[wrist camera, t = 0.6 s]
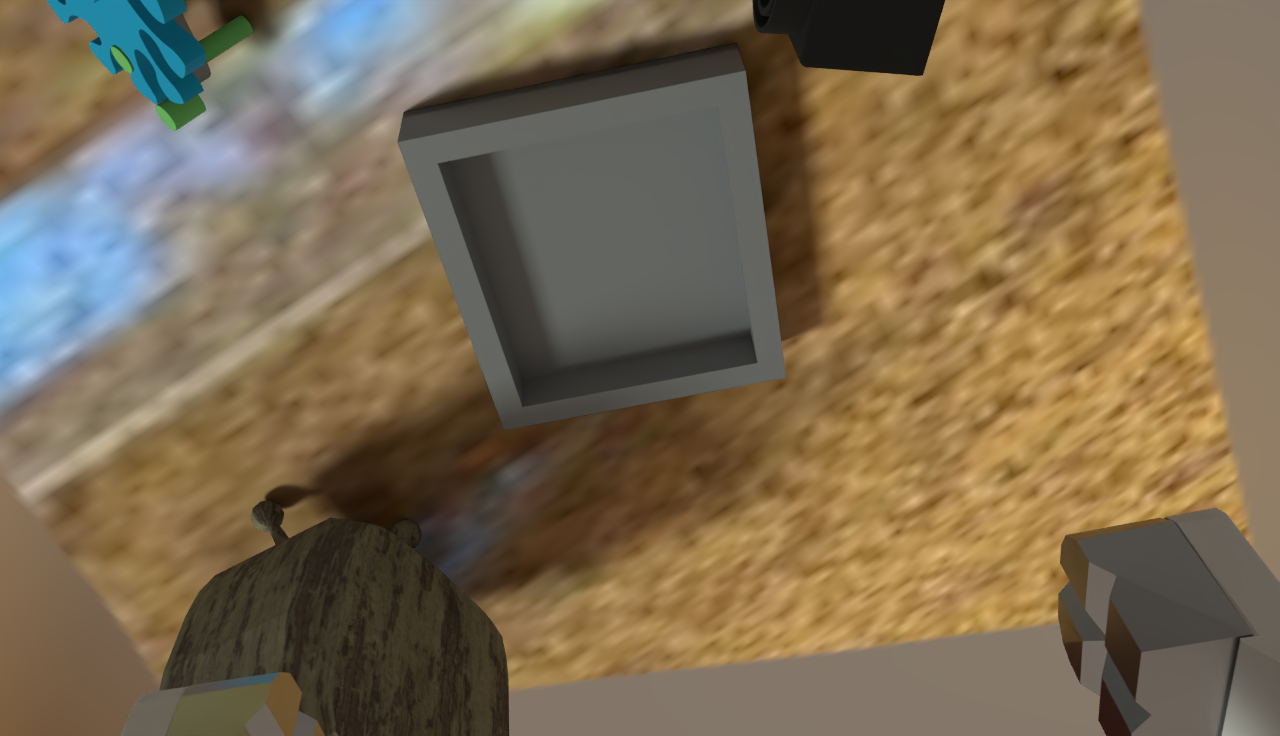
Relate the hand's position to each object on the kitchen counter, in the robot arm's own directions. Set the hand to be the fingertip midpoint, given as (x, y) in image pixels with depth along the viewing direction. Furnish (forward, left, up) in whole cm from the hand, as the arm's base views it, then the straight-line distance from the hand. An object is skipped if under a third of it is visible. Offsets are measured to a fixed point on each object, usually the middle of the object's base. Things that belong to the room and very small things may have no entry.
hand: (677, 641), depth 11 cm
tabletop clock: (+33, -18, -34) cm, 50 cm away
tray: (+17, -2, -33) cm, 37 cm away
